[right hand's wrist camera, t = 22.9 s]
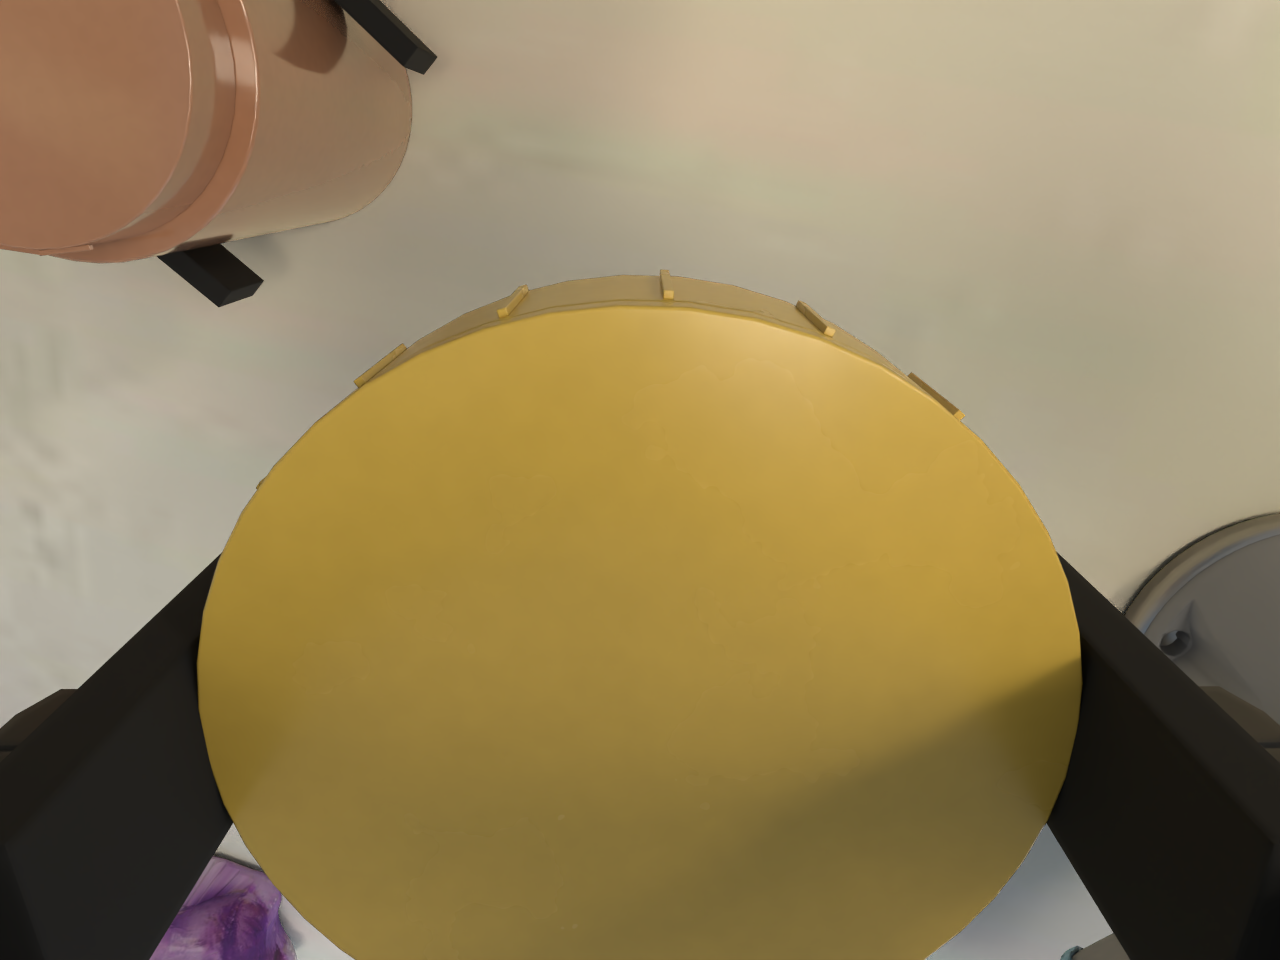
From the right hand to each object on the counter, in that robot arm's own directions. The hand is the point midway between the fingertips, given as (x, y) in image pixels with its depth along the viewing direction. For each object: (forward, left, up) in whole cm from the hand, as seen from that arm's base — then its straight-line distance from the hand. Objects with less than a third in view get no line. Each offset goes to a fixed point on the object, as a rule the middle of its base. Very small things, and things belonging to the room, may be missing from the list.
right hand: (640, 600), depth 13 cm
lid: (0, 0, +3) cm, 3 cm away
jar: (+8, -14, -25) cm, 30 cm away
